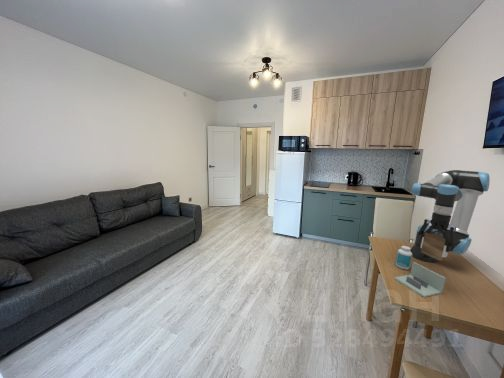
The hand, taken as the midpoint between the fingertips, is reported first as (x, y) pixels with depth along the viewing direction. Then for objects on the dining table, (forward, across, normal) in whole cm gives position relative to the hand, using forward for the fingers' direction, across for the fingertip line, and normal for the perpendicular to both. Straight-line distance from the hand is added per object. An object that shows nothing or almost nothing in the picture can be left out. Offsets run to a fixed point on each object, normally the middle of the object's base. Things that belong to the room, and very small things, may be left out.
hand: (432, 252), depth 117 cm
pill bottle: (+18, -16, +2) cm, 24 cm away
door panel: (+2, 0, 0) cm, 2 cm away
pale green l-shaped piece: (+19, +1, -9) cm, 20 cm away
